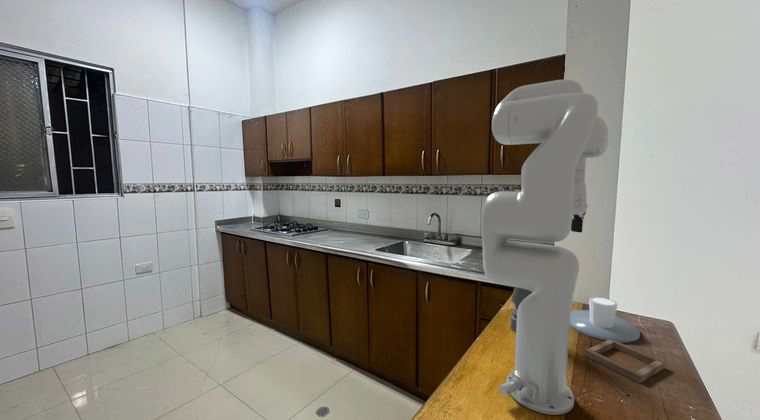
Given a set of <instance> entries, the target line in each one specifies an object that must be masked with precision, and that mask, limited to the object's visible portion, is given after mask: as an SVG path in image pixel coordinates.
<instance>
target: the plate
mask: <svg viewBox="0 0 760 420" xmlns="http://www.w3.org/2000/svg"><path fill="white" fill-rule="evenodd" d="M570 328H571V329H573V330H574V331H577V332H579V333H580V334H583V335H585V336H588V337H591V338H594V339H597V340H602V341H604V342H605V341H607V340H609V339H613V340H615V341H618V342H620V343H622V344H624V343H626V344H627V343H633V342H637V341H638V340H639V339H640V336H641V332H640V329H639V328H638V327H637V326H636V325H634V324H633V323H631V322H630V321H628V320H627V319H623V318H622V317H618V316H616V315H615V319H614V324H613V327H611V328H603V327H599V326H596V325H594V324H592V323H591V322H590V309H589V310H588V309H578V310H571V315H570Z"/></svg>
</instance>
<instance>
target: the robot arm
mask: <svg viewBox="0 0 760 420" xmlns="http://www.w3.org/2000/svg"><path fill="white" fill-rule="evenodd" d="M499 102H500V103H498V105H497V106H496V108H495V110H494V112H493V115H492V120H491V131H492V132H491V133H492V135H493V138H494V139H495V140H496V142H497V143H499V144H500V145H501V144H502V145H507V146H511V145H512V146H513V145H527V144H528V145H529V144H530V145H532V144H539V145H538V146H537V147H536V148H535V149H534V150H533V151H532V152H531V154H529V156H528V157H527V159H526V160H525V161H524V162H523V165H522V167H521V173H520V176H521V179H520V180H521V187H520V188H521V189H520V191H511V190H509V191H508V190H507V191H506V190H504V191H502V190H501V191H495V192H493V193H491V194H489V195H488V196H487V197H486V198H485V201H484V202H483V206H482V211H481V223H480V224H481V243H482V244H481V245H482V266H483V270H484V271H483V272H484V274H485V275H484V276H485V277H486V278H487V280H489V281H490V282H491V283H494V284H499V285H503V286H508V287H513V288H515V287H517V288H522V289H526V290H530V291H532V293H531V294H530V295H528V296H527V297H526V298H525V299H524V300H523V301H522V302H521V303H520V305H519V307H518V310H517V327H516V332H515V348H514V349H515V353H514V354H515V356H514V370H513V371H511V372H510V373H508V375H507V376H506V381H505V383H502V384H499V387H498V390H499V393H501V395H502V396H505V397H506V396H508V395H510V396H511V397H512V398H513V399H514V400H515V401H516V402H518V403H519V404H520V405H522V406H524V407H525V408H527V409H529V410H531V411H535V412H537V413H541V414H544V415H550V416H551V415H553V416H555V415H556V416H558V415H564V414H567V413H568V412H570V411H571V410H572V409H573V408H574V404H575V397H574V393H573V392H572V390H571V389H570V388H569V386H568V385H567V371H568V358H569V357H568V356H569V343H570V342H569V341H570V328H571V327H570V315H571V311H572V305H573V299H574V293H575V289H576V286H577V283H578V278H579V272H580V263H579V259H578V257H577V255H576V254H575V253H574V252H572V250H570V249H567V248H565V247H562V246H557V245H554V244H553V245H552V244H544V243H556V242H561V241H564V240H565V239H567V238H568V236H569V234H570V233H571V232H574V233H582V232H583V223H584V219H585V215H586V214H587V209H588V204H587V186H586V182H585V178H586V177H585V176H586V175H585V174H586V166H587V165H586V162H587V158H588V159H589V158H590V159H593V158H598V157H601V156H603V155H604V154H605V152H606V151H607V148H608V143H609V128H608V125H607V123H606V121H605V120H604V119H603V118H602V117H601V116H598V111H599V110H598V109H599V104H598V100H597V97H595V96H593V94H590V93H585V92H584V88H583V87H582V85H581V84H580V83H579V82H577V81H576V80H572V79H556V80H550V81H544V82H538V83H531V84H525V85H522V86H518V87H517V88H514V89H513V90H512V91H510V92H509V93H508V94H507V95H506V96H505V97H504V98H503V99H502V100H501V101H499ZM508 239H511V240H508ZM516 240H522V241H516ZM525 241H528V242H525ZM530 241H531V242H530ZM535 242H536V243H535ZM537 242H540V243H537Z"/></svg>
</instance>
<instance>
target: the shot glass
mask: <svg viewBox="0 0 760 420" xmlns="http://www.w3.org/2000/svg"><path fill="white" fill-rule="evenodd" d="M588 300H589V301H588V302H589V306H588V307H589V311H590V322H591V323H592V324H594V325H596V326H599V327H603V328H611V327H613V324H614V319H615V316H616V315H617V308H618V303H617V302H616V301H615V300H613V299H609V298H608V297H607V298H606V297H601V296H591V297H589V298H588Z"/></svg>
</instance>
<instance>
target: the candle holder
mask: <svg viewBox="0 0 760 420" xmlns="http://www.w3.org/2000/svg"><path fill="white" fill-rule="evenodd" d="M531 293H532V291H530V290H526V289H522V288H517V287H513V292H512V294H511V301H512V302H513V304H514V308H513V310H512V311H511V315H510V329H511V330H512V331H514V332H515V333H516V327H517V310H518V307H519V305H520V303H521V302H522V301H523V300H524V299H525V298H526V297H527V296H528V295H530V294H531Z"/></svg>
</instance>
